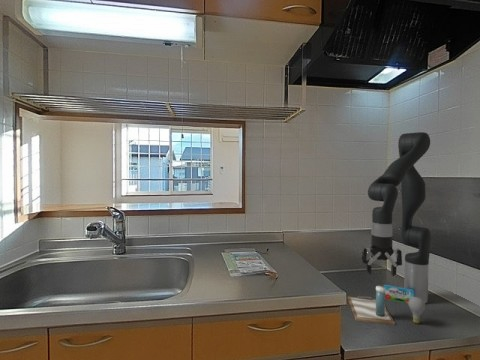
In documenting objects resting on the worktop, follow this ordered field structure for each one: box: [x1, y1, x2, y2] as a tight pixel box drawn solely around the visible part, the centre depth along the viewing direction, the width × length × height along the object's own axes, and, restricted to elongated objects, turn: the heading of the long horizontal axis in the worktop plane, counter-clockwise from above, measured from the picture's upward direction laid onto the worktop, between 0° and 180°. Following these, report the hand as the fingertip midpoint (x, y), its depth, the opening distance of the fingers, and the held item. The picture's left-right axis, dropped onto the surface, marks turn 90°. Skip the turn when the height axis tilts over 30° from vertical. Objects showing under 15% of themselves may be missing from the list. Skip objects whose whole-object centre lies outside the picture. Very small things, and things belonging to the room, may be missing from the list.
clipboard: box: [347, 295, 396, 326], centre depth 120 cm, size 20×14×2 cm
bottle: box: [375, 285, 386, 317], centre depth 114 cm, size 3×3×11 cm
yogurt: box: [382, 284, 414, 305], centre depth 129 cm, size 12×2×6 cm, turn 61°
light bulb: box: [408, 297, 426, 324], centre depth 110 cm, size 6×6×10 cm
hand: (381, 274), depth 114 cm, fingers open, 8 cm apart
